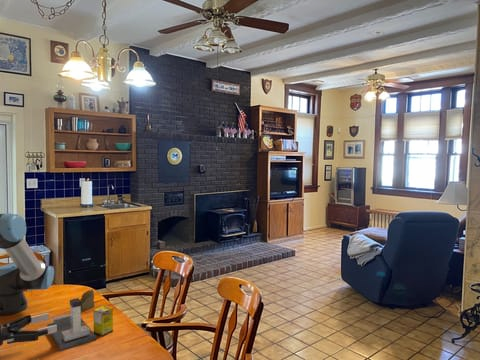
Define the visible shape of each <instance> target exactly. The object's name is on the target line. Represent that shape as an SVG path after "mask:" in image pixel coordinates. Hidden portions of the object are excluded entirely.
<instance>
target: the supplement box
mask: <svg viewBox="0 0 480 360" xmlns="http://www.w3.org/2000/svg"><path fill="white" fill-rule="evenodd" d="M113 309H114V308H113V307H111V306H107V305H101V306H99V307H97V308H94V309H93V310H92V311H93V333H94V334H95V335H97V336H100V337H104V336H107V335H108V334H110V333H113V332H114V311H113Z"/></svg>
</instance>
